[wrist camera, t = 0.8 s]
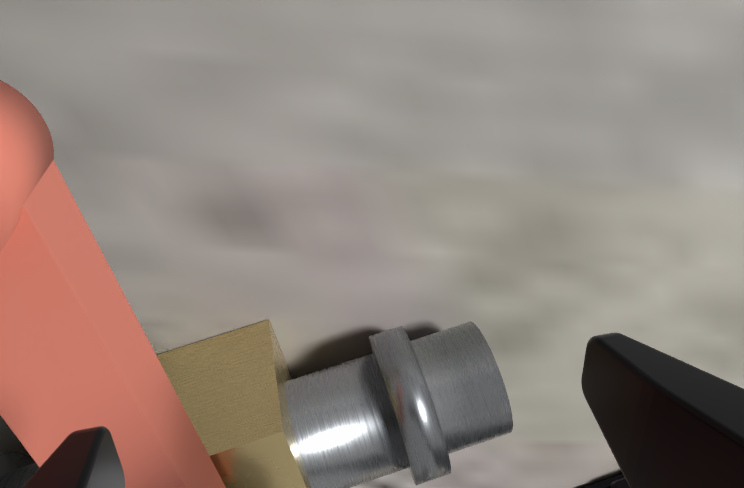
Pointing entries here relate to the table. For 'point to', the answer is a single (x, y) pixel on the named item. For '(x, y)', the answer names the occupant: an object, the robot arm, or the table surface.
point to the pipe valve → (331, 408)
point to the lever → (76, 327)
